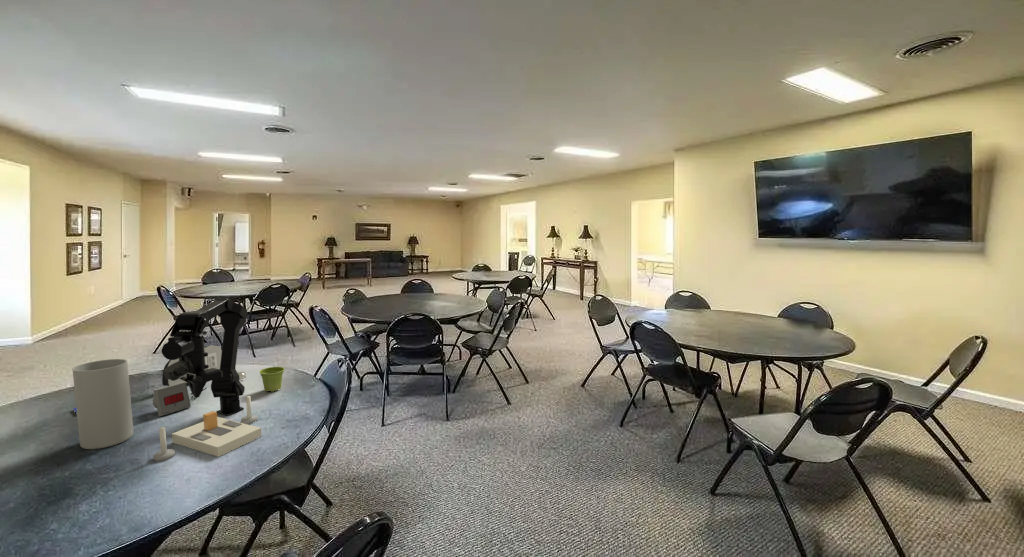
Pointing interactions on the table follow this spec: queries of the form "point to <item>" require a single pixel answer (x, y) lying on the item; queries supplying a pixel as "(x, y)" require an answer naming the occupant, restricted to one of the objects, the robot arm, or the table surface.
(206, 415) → the switch
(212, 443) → the breaker board
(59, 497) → the table surface
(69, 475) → the table surface
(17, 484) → the table surface
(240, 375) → the metal grooved wheel
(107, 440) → the cylinder vase
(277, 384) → the plant pot
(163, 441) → the cable post
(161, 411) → the voltmeter
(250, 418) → the cable post
